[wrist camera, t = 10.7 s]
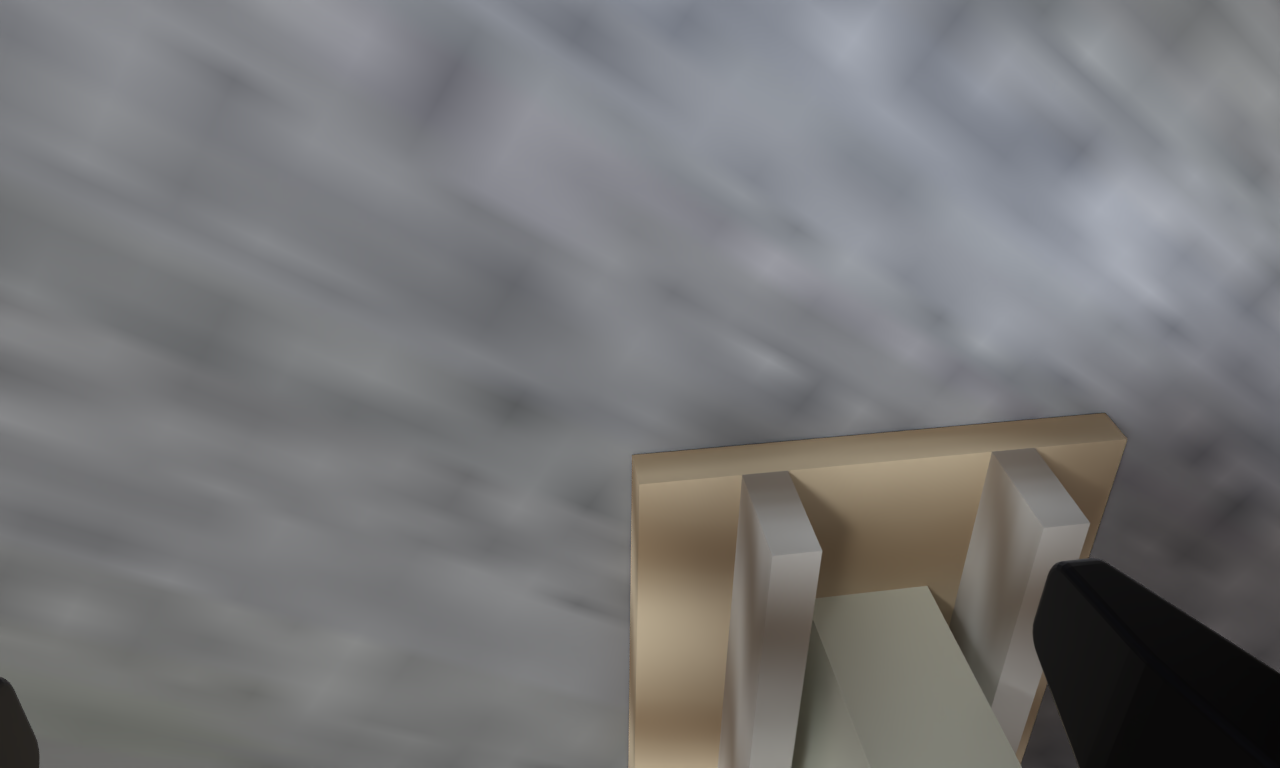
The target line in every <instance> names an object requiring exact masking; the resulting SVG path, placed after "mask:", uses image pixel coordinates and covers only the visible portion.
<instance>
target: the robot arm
mask: <svg viewBox="0 0 1280 768" xmlns="http://www.w3.org/2000/svg"><path fill="white" fill-rule="evenodd" d="M1032 634H1033V642H1034V647H1035V650H1036V653H1037V656H1038V659H1039V662H1040V664H1041V667H1042V670H1043V672H1044V675H1045V678H1046V681H1047V683H1048V686H1049V689H1050V691H1051V694H1052V697H1053V700H1054V702H1055V705H1056V708H1057V710H1058V713H1059V716H1060V718H1061V721H1062V724H1063V727H1064V729H1065V732H1066V735H1067V737H1068V740H1069V743H1070V746H1071V748H1072V751H1073V754H1074V756H1075V759H1076V762H1077V765H1078V767H1079V768H1280V673H1279V672H1277V671H1276V670H1274V669H1273V668H1271V667H1269V666H1268V665H1266V664H1265V663H1263V662H1262V661H1260V660H1258V659H1257V658H1255V657H1254V656H1252V655H1251V654H1249V653H1247V652H1246V651H1244V650H1243V649H1241V648H1240V647H1238V646H1237V645H1235V644H1233V643H1232V642H1230V641H1229V640H1227V639H1226V638H1224V637H1222V636H1221V635H1219V634H1218V633H1216V632H1215V631H1213V630H1211V629H1210V628H1208V627H1207V626H1205V625H1204V624H1202V623H1200V622H1199V621H1197V620H1196V619H1194V618H1193V617H1191V616H1190V615H1188V614H1186V613H1185V612H1183V611H1182V610H1180V609H1179V608H1177V607H1175V606H1174V605H1172V604H1171V603H1169V602H1168V601H1166V600H1164V599H1163V598H1161V597H1160V596H1158V595H1157V594H1155V593H1153V592H1152V591H1150V590H1149V589H1147V588H1146V587H1144V586H1142V585H1141V584H1139V583H1138V582H1136V581H1135V580H1133V579H1132V578H1130V577H1128V576H1127V575H1125V574H1124V573H1122V572H1121V571H1119V570H1117V569H1116V568H1114V567H1113V566H1111V565H1110V564H1108V563H1106V562H1104V561H1102V560H1100V559H1096V558H1086V559H1077V560H1068V561H1060V562H1057V563H1055V564H1054V565H1053V566H1052V567H1051V569H1050V570H1049V573H1048V575H1047V578H1046V582H1045V585H1044V588H1043V592H1042V595H1041V598H1040V601H1039V605H1038V608H1037V611H1036V615H1035V618H1034V621H1033V630H1032ZM0 768H39V748H38V743H37V740H36V737H35V735H34V732H33V730H32V728H31V726H30V724H29V721H28V719H27V717H26V715H25V713H24V710H23V708H22V706H21V704H20V702H19V699H18V697H17V695H16V693H15V691H14V689H13V687H12V685H11V684H10V682H8V681H7V680H6V679H4V678H2V677H0Z"/></svg>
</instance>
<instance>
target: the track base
mask: <svg viewBox="0 0 1280 768" xmlns="http://www.w3.org/2000/svg"><path fill="white" fill-rule="evenodd" d="M1126 442H1127V438H1126V437H1125V435H1124V434H1123V433H1122V432H1121V431H1120V430H1119V428H1118V427H1117V426H1116V425H1115V424H1114V423H1113V421H1112V420H1111V419H1110V418H1109V417H1108V416H1107V414H1106V413H1099V414H1088V415H1076V416H1065V417H1054V418H1043V419H1032V420H1020V421H1009V422H998V423H987V424H975V425H964V426H953V427H942V428H930V429H919V430H908V431H897V432H886V433H874V434H863V435H852V436H841V437H829V438H818V439H807V440H796V441H784V442H773V443H762V444H751V445H740V446H728V447H717V448H706V449H695V450H683V451H672V452H661V453H650V454H638V455H632V510H631V595H630V680H629V765H628V768H791V765H792V758H793V751H794V744H795V737H796V730H797V723H798V716H799V710H800V703H801V696H802V689H803V682H804V675H805V668H806V661H807V654H808V647H809V640H810V633H811V626H812V619H813V612H814V605H815V598H823V597H832V596H840V595H849V594H858V593H867V592H876V591H885V590H894V589H903V588H912V587H920V586H928V588H929V590H930V592H931V594H932V596H933V597H934V599H935V601H936V603H937V605H938V607H939V609H940V611H941V613H942V615H943V617H944V619H945V621H946V622H947V624H948V626H949V628H950V630H951V632H952V634H953V636H954V638H955V640H956V642H957V644H958V645H959V647H960V649H961V651H962V653H963V655H964V657H965V659H966V661H967V663H968V665H969V667H970V668H971V670H972V672H973V674H974V676H975V678H976V680H977V682H978V684H979V686H980V688H981V690H982V692H983V693H984V695H985V697H986V699H987V701H988V703H989V705H990V707H991V709H992V711H993V713H994V715H995V716H996V718H997V720H998V722H999V724H1000V726H1001V728H1002V730H1003V732H1004V734H1005V736H1006V738H1007V740H1008V741H1009V743H1010V745H1011V747H1012V749H1013V751H1014V753H1015V755H1016V757H1017V759H1018V761H1019V763H1020V764H1021V762H1022V759H1023V756H1024V753H1025V750H1026V747H1027V744H1028V741H1029V738H1030V735H1031V731H1032V728H1033V725H1034V722H1035V719H1036V716H1037V713H1038V710H1039V707H1040V704H1041V701H1042V698H1043V695H1044V692H1045V689H1046V686H1047V681H1046V678H1045V675H1044V672H1043V670H1042V667H1041V664H1040V662H1039V659H1038V656H1037V653H1036V650H1035V647H1034V642H1033V634H1032V630H1033V621H1034V618H1035V615H1036V611H1037V608H1038V605H1039V601H1040V598H1041V595H1042V592H1043V588H1044V585H1045V582H1046V578H1047V575H1048V573H1049V570H1050V569H1051V567H1052V566H1053V565H1054V564H1055V563H1057V562H1060V561H1068V560H1077V559H1086V558H1089V555H1090V552H1091V549H1092V546H1093V543H1094V540H1095V537H1096V534H1097V531H1098V528H1099V525H1100V522H1101V519H1102V515H1103V512H1104V509H1105V506H1106V503H1107V500H1108V497H1109V494H1110V491H1111V488H1112V485H1113V482H1114V479H1115V476H1116V473H1117V470H1118V467H1119V464H1120V461H1121V458H1122V455H1123V452H1124V449H1125V446H1126Z"/></svg>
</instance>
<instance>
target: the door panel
mask: <svg viewBox="0 0 1280 768" xmlns="http://www.w3.org/2000/svg"><path fill="white" fill-rule="evenodd" d="M791 768H1022V766H1021V764H1020V763H1019V761H1018V759H1017V757H1016V755H1015V753H1014V751H1013V749H1012V747H1011V745H1010V743H1009V741H1008V740H1007V738H1006V736H1005V734H1004V732H1003V730H1002V728H1001V726H1000V724H999V722H998V720H997V718H996V716H995V715H994V713H993V711H992V709H991V707H990V705H989V703H988V701H987V699H986V697H985V695H984V693H983V692H982V690H981V688H980V686H979V684H978V682H977V680H976V678H975V676H974V674H973V672H972V670H971V668H970V667H969V665H968V663H967V661H966V659H965V657H964V655H963V653H962V651H961V649H960V647H959V645H958V644H957V642H956V640H955V638H954V636H953V634H952V632H951V630H950V628H949V626H948V624H947V622H946V621H945V619H944V617H943V615H942V613H941V611H940V609H939V607H938V605H937V603H936V601H935V599H934V597H933V596H932V594H931V592H930V590H929V588H928V586H920V587H912V588H903V589H894V590H885V591H876V592H867V593H858V594H849V595H840V596H832V597H823V598H815V605H814V612H813V619H812V626H811V633H810V640H809V647H808V654H807V661H806V668H805V675H804V682H803V689H802V696H801V703H800V710H799V716H798V723H797V730H796V737H795V744H794V751H793V758H792V765H791Z"/></svg>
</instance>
